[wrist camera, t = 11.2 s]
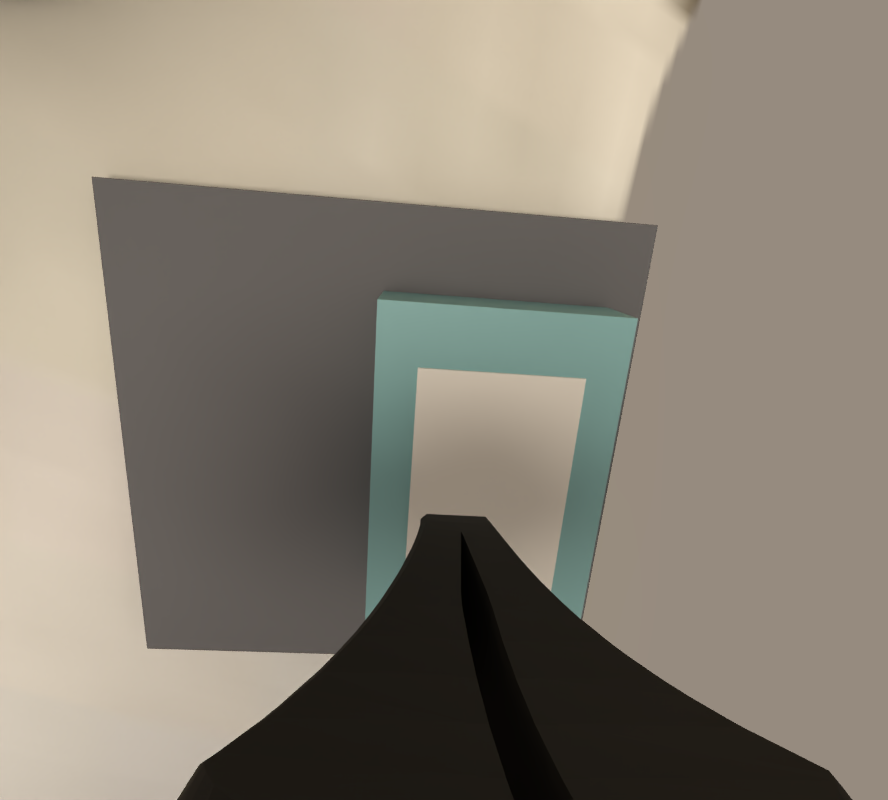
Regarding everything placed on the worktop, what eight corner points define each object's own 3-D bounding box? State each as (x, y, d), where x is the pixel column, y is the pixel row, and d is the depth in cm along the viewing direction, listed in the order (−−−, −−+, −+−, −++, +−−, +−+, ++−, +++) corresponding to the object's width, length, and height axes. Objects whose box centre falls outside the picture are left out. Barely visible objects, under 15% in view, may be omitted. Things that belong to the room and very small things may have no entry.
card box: (376, 299, 11) (638, 319, 12) (383, 290, 13) (607, 307, 14) (364, 630, 14) (578, 637, 14) (371, 582, 16) (559, 589, 16)
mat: (569, 647, 18) (574, 661, 17) (156, 634, 17) (147, 648, 16) (648, 226, 14) (657, 225, 13) (106, 179, 13) (91, 176, 12)
